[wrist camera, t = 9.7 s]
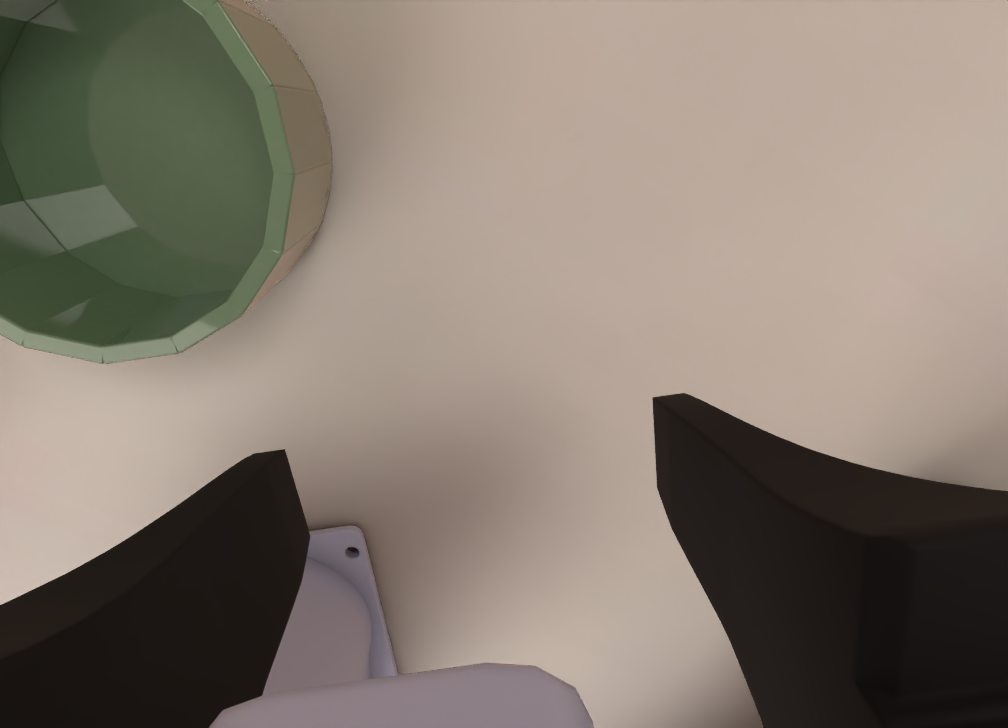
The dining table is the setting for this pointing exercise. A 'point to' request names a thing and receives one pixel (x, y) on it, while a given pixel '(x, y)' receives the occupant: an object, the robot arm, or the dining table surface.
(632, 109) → the dining table surface
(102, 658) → the robot arm
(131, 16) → the sage cup
